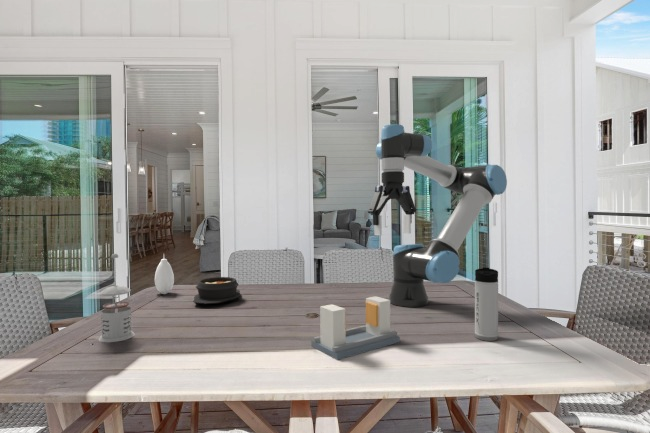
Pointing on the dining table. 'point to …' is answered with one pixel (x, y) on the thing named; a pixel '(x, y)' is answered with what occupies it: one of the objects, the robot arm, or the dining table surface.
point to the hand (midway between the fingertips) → (392, 234)
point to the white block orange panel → (377, 315)
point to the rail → (346, 335)
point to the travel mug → (486, 304)
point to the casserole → (216, 290)
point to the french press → (116, 315)
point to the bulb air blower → (164, 277)
